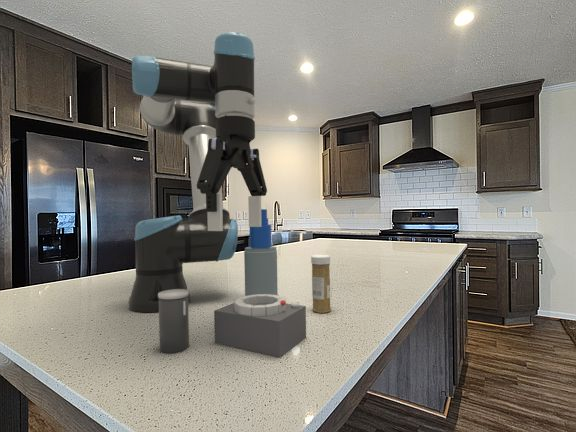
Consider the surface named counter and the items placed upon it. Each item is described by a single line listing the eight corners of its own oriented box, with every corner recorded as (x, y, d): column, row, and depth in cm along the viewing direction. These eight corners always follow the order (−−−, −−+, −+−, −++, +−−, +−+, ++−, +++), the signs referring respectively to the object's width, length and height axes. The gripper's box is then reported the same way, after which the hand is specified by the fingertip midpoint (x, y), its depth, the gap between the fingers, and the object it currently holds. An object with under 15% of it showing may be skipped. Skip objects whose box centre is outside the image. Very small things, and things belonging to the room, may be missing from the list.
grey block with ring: (214, 342, 63) (213, 299, 63) (246, 326, 71) (245, 288, 71) (279, 357, 56) (279, 308, 56) (306, 337, 65) (305, 295, 65)
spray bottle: (269, 306, 87) (267, 208, 86) (239, 303, 90) (237, 209, 90) (282, 297, 95) (281, 208, 95) (254, 295, 98) (253, 209, 98)
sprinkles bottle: (334, 311, 81) (334, 255, 81) (320, 314, 79) (319, 257, 78) (322, 307, 85) (321, 253, 85) (308, 310, 82) (307, 255, 82)
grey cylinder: (152, 350, 60) (151, 294, 60) (175, 340, 64) (174, 288, 64) (174, 356, 57) (173, 297, 57) (196, 345, 62) (195, 290, 62)
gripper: (209, 97, 53) (211, 233, 53) (281, 130, 75) (282, 225, 75) (173, 104, 56) (175, 232, 56) (252, 133, 78) (253, 225, 79)
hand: (237, 228), depth 66 cm, fingers open, 13 cm apart
